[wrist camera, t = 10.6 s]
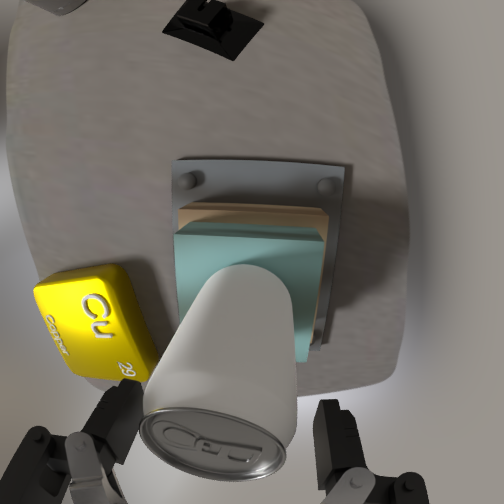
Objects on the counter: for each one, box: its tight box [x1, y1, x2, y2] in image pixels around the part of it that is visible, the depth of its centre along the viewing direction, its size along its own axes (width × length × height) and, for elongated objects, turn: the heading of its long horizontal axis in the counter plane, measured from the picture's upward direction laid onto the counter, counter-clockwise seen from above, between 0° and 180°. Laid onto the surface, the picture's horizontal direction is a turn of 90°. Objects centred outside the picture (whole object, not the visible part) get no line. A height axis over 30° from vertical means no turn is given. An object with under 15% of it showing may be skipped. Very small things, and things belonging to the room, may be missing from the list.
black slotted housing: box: [162, 0, 264, 61], centre depth 19 cm, size 12×7×5 cm, turn 58°
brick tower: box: [172, 160, 345, 362], centre depth 24 cm, size 20×16×9 cm
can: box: [139, 264, 297, 482], centre depth 14 cm, size 6×6×12 cm
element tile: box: [33, 264, 159, 382], centre depth 30 cm, size 15×15×5 cm
